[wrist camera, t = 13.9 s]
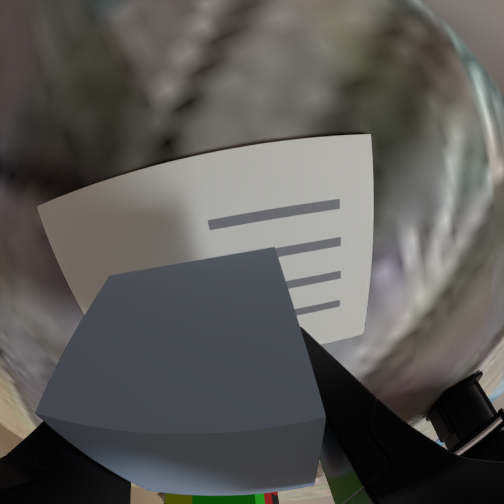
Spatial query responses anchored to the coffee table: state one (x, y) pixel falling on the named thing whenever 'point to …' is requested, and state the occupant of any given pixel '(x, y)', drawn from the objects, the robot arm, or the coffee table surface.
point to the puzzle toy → (222, 499)
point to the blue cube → (193, 380)
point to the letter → (234, 223)
